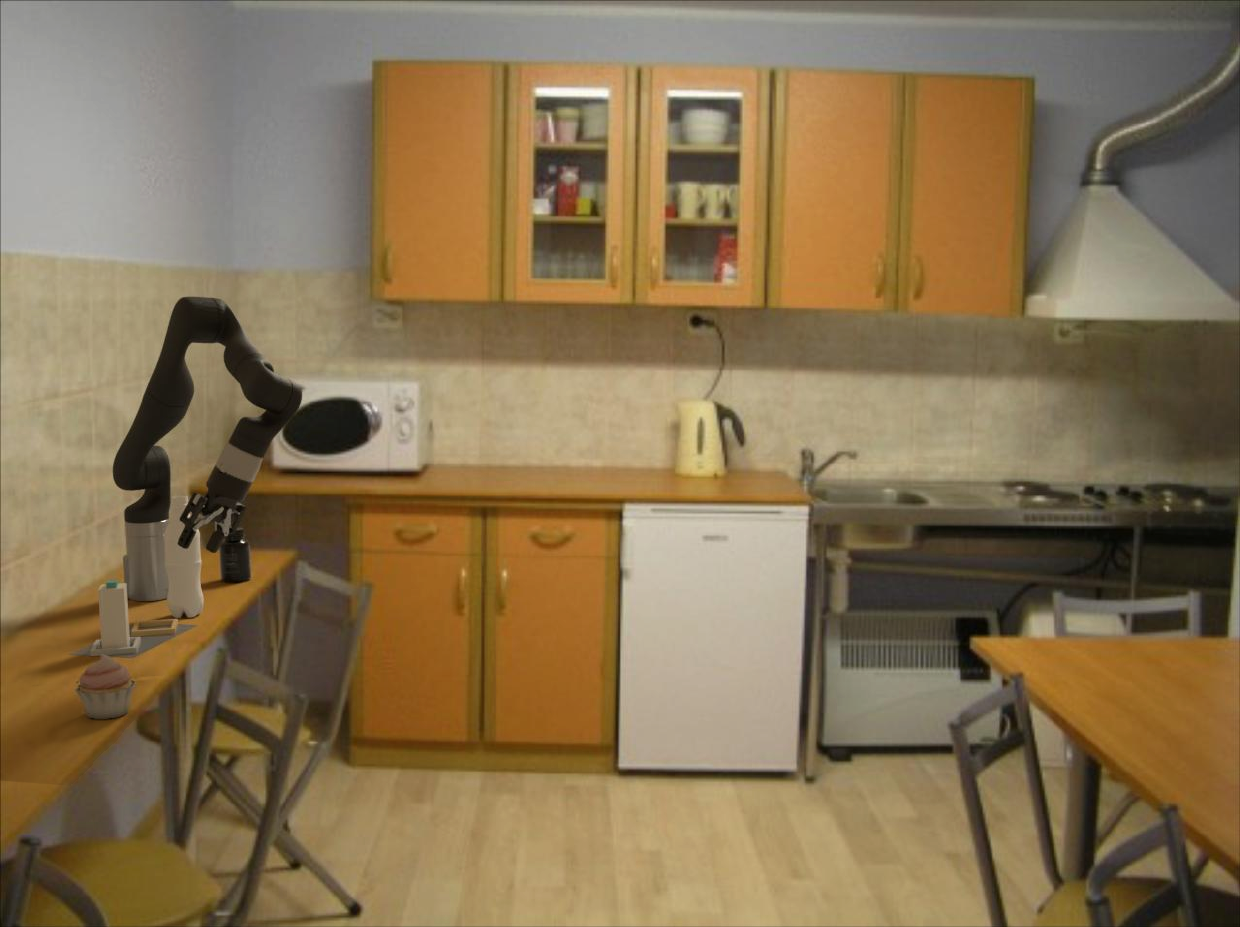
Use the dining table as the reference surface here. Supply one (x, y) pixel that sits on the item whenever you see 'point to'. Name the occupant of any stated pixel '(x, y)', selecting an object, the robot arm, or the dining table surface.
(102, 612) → the white tall box
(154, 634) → the panel
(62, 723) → the dining table surface
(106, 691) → the cupcake
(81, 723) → the dining table surface
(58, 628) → the dining table surface
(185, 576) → the water bottle
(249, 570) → the supplement bottle
